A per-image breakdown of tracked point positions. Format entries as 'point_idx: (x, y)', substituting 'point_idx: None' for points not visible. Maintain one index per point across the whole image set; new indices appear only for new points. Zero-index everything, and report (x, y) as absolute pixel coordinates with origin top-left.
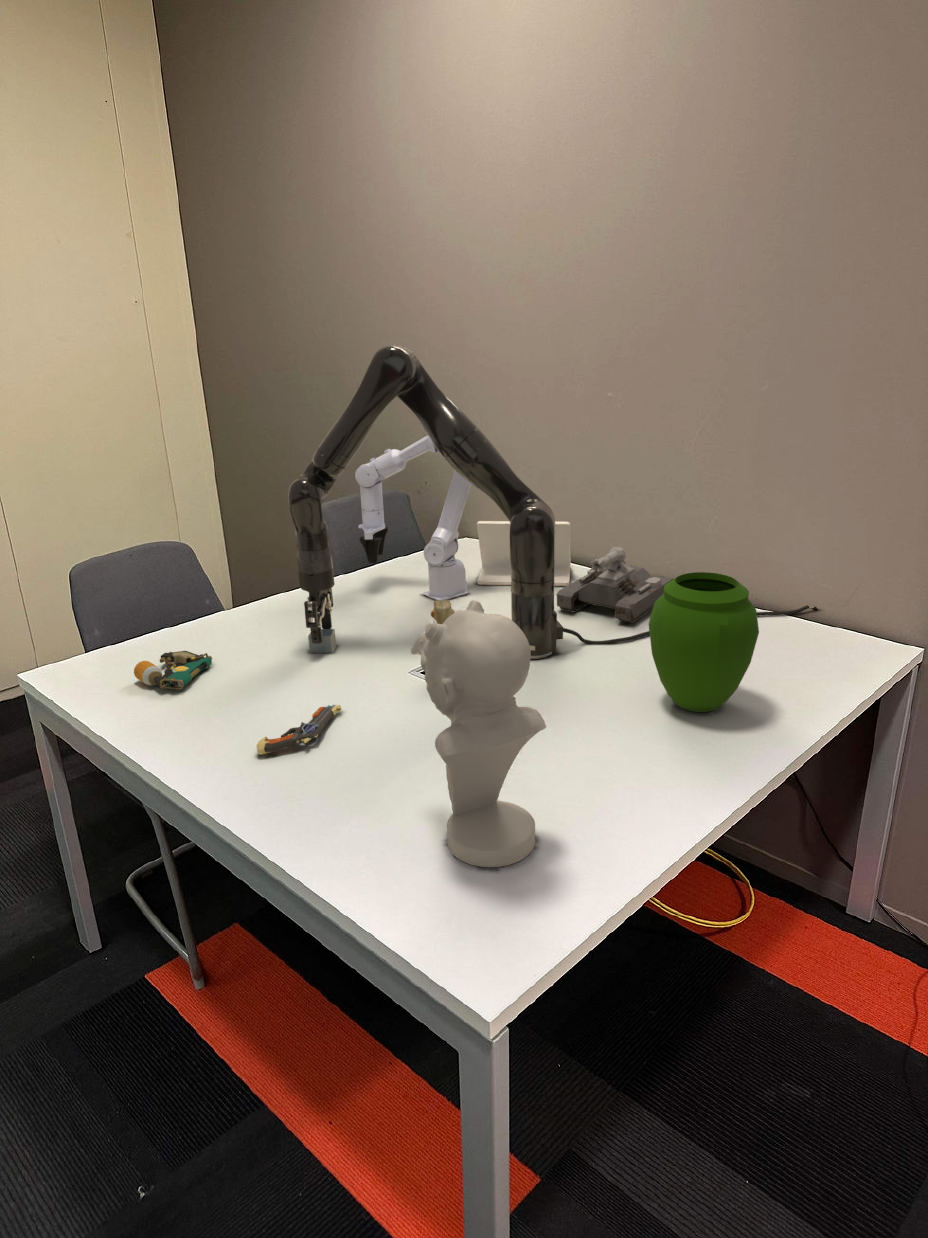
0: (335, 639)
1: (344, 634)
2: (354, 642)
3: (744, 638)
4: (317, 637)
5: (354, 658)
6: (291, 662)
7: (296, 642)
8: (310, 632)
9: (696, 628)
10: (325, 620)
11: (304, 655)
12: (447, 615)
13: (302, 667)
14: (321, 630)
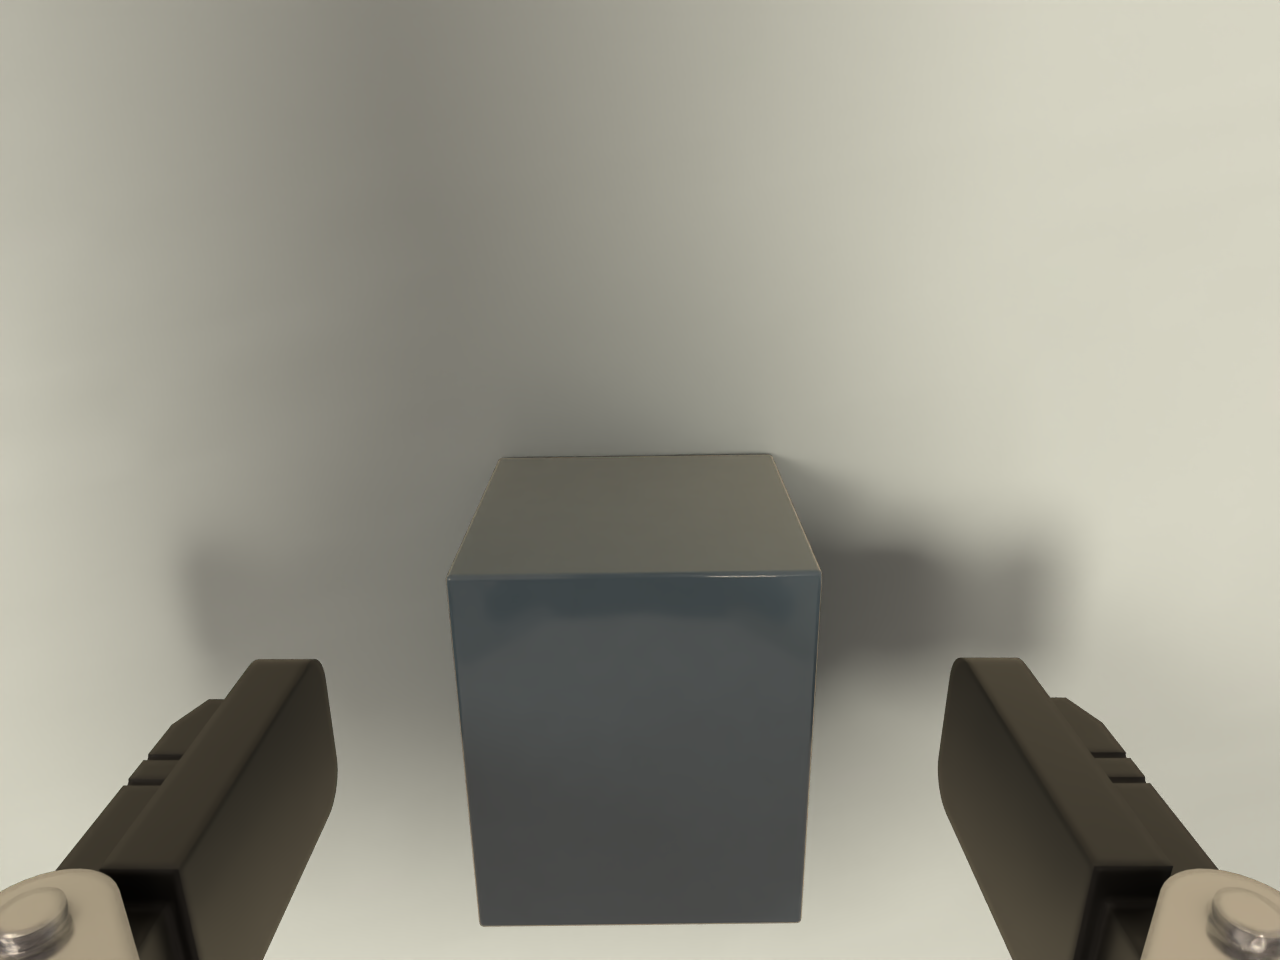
0: (503, 495)
1: (35, 443)
2: (324, 203)
3: None
4: (1124, 773)
5: (1003, 38)
6: None
7: (435, 944)
8: (652, 924)
9: None
10: (267, 846)
11: (842, 769)
12: None
13: (1230, 701)
14: (544, 786)
